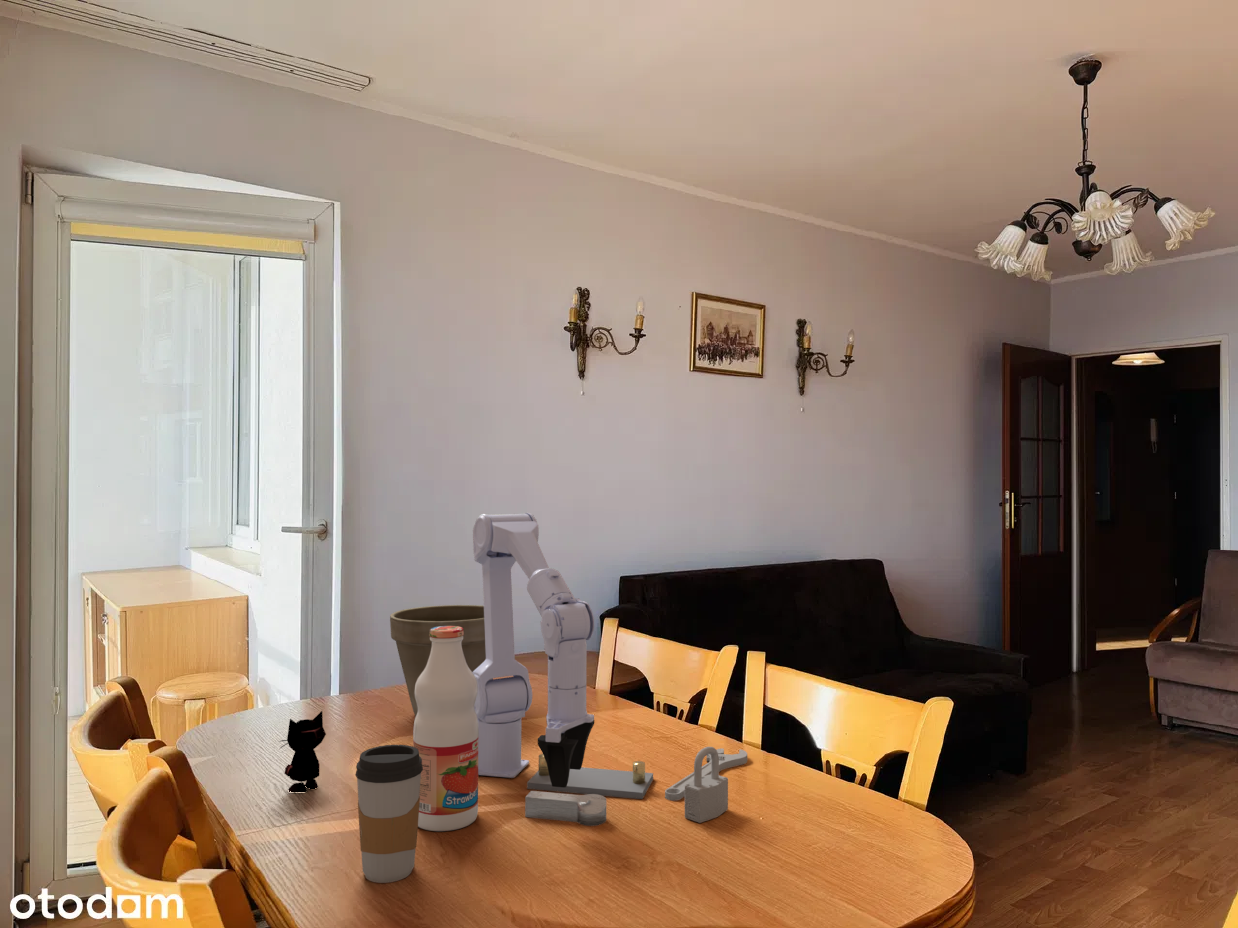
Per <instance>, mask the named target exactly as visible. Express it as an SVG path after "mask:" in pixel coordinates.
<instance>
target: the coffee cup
mask: <svg viewBox="0 0 1238 928" xmlns="http://www.w3.org/2000/svg"><path fill="white" fill-rule="evenodd" d="M355 769H356V771H355V774H354V775H355V777H356V781H357V784H356V785H357V799H358V800H357V810H358V811H357V813H358V826H359V827H358V828H359V843H360V844H359V845H360V852H361V864H362V865H361V866H362V868H361V869H362V872H363V874H364V876H365V878H366V879H367V880H368V881H369V882H373V883H379V884H380V883H381V884H383V883H384V884H386V883H387V884H388V883H394V882H397V881H401V880H403V879H406V878H407V877H409V875H410V874H411V873H412V872H413V869H414V867H415V861H416V859H415V858H416V848H417V842H418V832H419V830H418V829H419V827H418V817H419V803H420V796H419V793H420V779H421V772H422V771H423V766H422V758H421V757H420V756H419V750H418V749H417V748H415V747H413V746H412V745H407V744H387V745H386V744H385V745H379V746H374V747H371V748H368V749H366V750H364V751H362V752H361V753H360V755H359V760H358V761H357V763H356V767H355Z"/></svg>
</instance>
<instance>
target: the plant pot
mask: <svg viewBox="0 0 1238 928" xmlns="http://www.w3.org/2000/svg"><path fill="white" fill-rule="evenodd" d="M389 625H390V637H391V639H392V640H393V641H395V643H396V648H397V653H398V656H399V660H400V664H401V669H402V672H403V673H402V674H403V677H404V680H405V681H404V682H405V684H406V689H407V692H408V696H409V701H410V704H411V708H412V711H413V714H414V716H415V717H416V715H417V712H418V706H417V703H416V699H415V684H416V681H417V679H418V677H419V676H420V675H421V673H422V672H423V671H424V669H425V667H426V665H427V662H428V659H429V656H430V653H431V648H432V641H431V640H430V629H431V628H434V627H439V626H458V627H462V628H463V631H464V635H463V640H462V641H461V645H462V650H463V654H464V657H465V660H466V663H467V665H468V667H469V669H470V670H471V671H472V672H473V671H474V670H475V669H476V668H477V667H479V666H480V665H481V664H482V663H483V662H484V661H485V660H486V649H485V624H484V605H477V604H445V605H444V604H443V605H430V606H429V605H428V606H420V607H411V608H406V609H401V610H397V611H395V612H393V613H391V614H390V615H389ZM492 679H494V678H492ZM492 679H489V680H492Z"/></svg>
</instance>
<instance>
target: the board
mask: <svg viewBox="0 0 1238 928" xmlns="http://www.w3.org/2000/svg"><path fill="white" fill-rule="evenodd" d="M653 780H654V773H653V772H645V783H643V784H635V783H633V770H631V771H630V770H619V769H607V768H594V767H585V766H584V767H581V769H580V770H576V769H570V772H569V779H568V783H567V786H566V787H565V788H563V787H553V786H552V784H551V780H550V776H549V775H548V776H541V775H539V769H538V770H537V771H536V772H535V774H533V775H532V777H530V779H529V780H528V781H526V782H527V783H526V789H528V790H535V791H537V790H538V791H546V792H547V791H548V792H557V793H560V792H561V793H568V794H579V795H586V794H597V795H602V796H604V797H605V796H606V797H614V798H615V797H616V798H625V799H626V798H627V799H628V798H629V799H635V800H636V799H639V800H643V798H644V797H645V795H646V793H647V792H648V790H649V788H650V786H651V785H652V783H653Z"/></svg>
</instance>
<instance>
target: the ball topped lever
mask: <svg viewBox="0 0 1238 928" xmlns="http://www.w3.org/2000/svg"><path fill="white" fill-rule="evenodd" d="M524 800H525V801H524V802H525V803H524V804H525V805H524V807H525V808H524V811H525V812H524V813H525V814H524V817H525V818H531V819H541V820H550V821H551V820H552V821H562V822H572V823H578V824H579V825H582V826H585V827H596V826H600V825H601V826H602V825H603V824H605V823H606V822H607V798H606V797H605V796H602V795H597V794H573V793H562V792H561V793H560V792H551V791H548V792H547V791H540V790H538V791H537V790H530V792H528V794H526V796H525V798H524Z"/></svg>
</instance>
